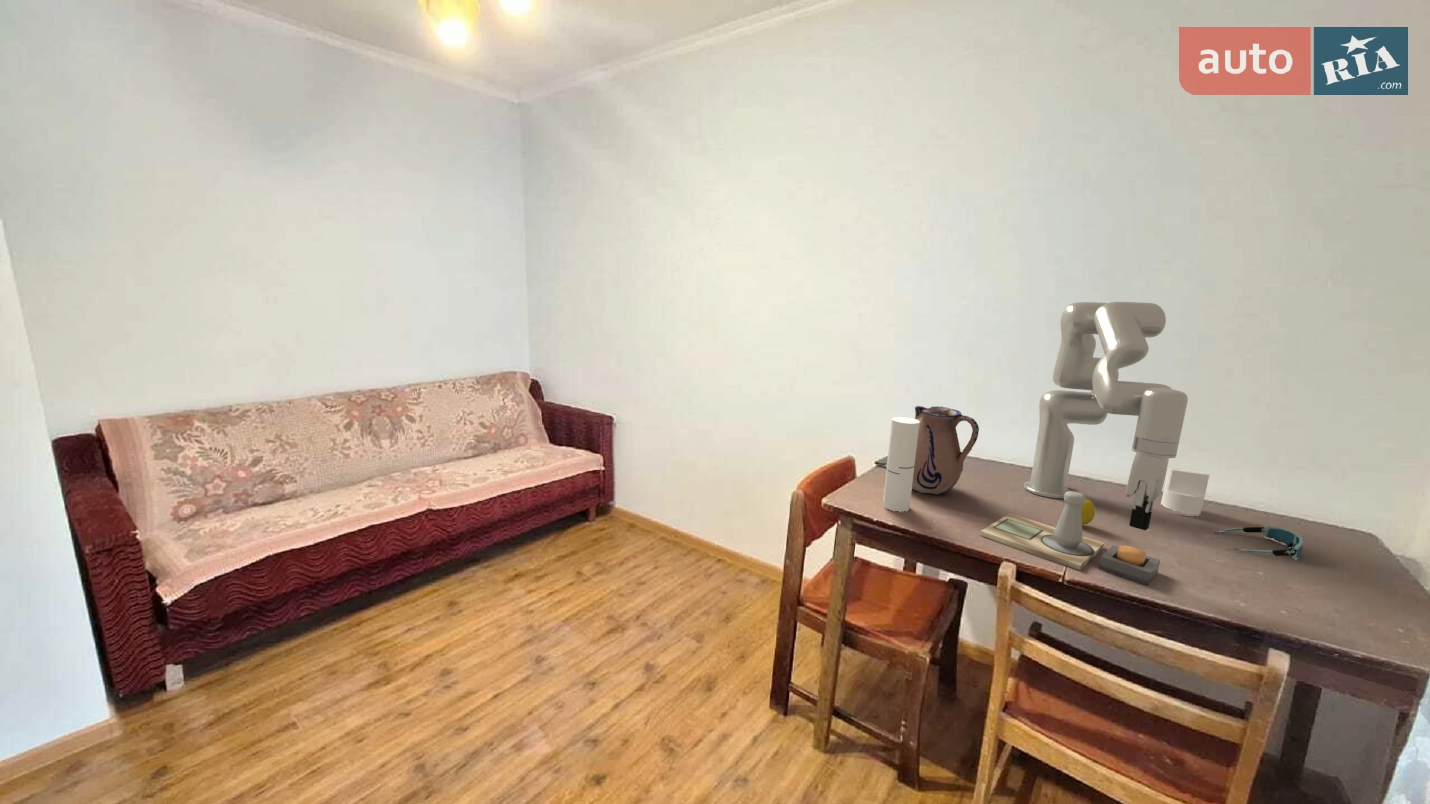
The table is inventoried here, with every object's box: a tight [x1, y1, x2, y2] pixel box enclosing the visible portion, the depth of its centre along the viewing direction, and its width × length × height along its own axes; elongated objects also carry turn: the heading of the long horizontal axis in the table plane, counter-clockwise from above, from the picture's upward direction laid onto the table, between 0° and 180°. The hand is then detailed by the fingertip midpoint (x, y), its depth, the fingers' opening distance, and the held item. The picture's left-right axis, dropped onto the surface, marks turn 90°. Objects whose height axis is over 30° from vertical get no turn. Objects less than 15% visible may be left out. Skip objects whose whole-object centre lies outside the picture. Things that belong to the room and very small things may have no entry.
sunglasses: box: [1221, 525, 1304, 560], centre depth 141 cm, size 14×15×5 cm
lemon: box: [1081, 496, 1096, 526], centre depth 148 cm, size 6×6×8 cm
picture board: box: [979, 512, 1105, 571], centre depth 139 cm, size 18×22×1 cm
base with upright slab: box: [1160, 467, 1210, 514], centre depth 161 cm, size 9×9×12 cm
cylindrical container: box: [882, 416, 920, 513], centre depth 154 cm, size 7×7×25 cm
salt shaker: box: [1054, 490, 1086, 548], centre depth 133 cm, size 6×6×13 cm
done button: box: [1117, 545, 1147, 567], centre depth 125 cm, size 5×5×2 cm
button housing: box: [1098, 544, 1161, 586], centre depth 125 cm, size 9×9×3 cm
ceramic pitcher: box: [912, 405, 980, 495], centre depth 168 cm, size 18×21×25 cm
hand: (1138, 527), depth 123 cm, fingers closed
